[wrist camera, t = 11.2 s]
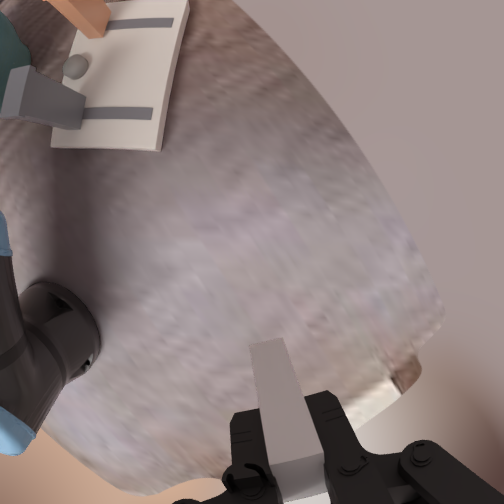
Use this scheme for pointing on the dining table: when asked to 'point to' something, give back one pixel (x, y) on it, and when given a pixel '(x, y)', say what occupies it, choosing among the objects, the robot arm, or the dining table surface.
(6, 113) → the gray capped upright block
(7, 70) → the flower pot
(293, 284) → the dining table surface
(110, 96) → the console
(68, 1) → the terracotta paddle
